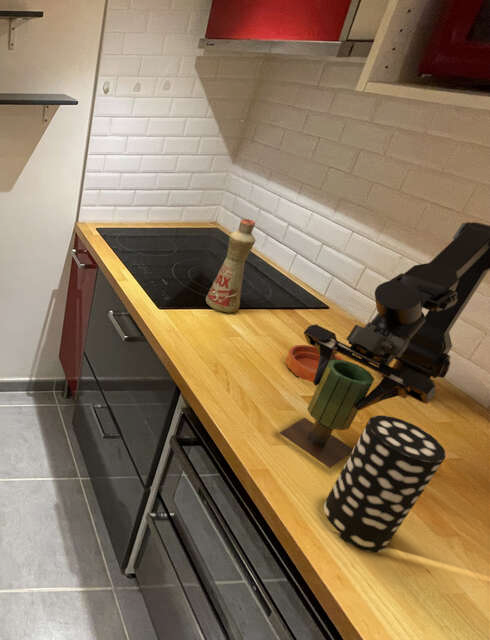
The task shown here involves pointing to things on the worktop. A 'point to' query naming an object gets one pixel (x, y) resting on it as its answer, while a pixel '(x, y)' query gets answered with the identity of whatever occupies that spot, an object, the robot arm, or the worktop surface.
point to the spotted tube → (382, 481)
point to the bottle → (232, 270)
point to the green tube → (339, 394)
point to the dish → (304, 361)
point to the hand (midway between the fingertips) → (335, 396)
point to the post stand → (317, 441)
